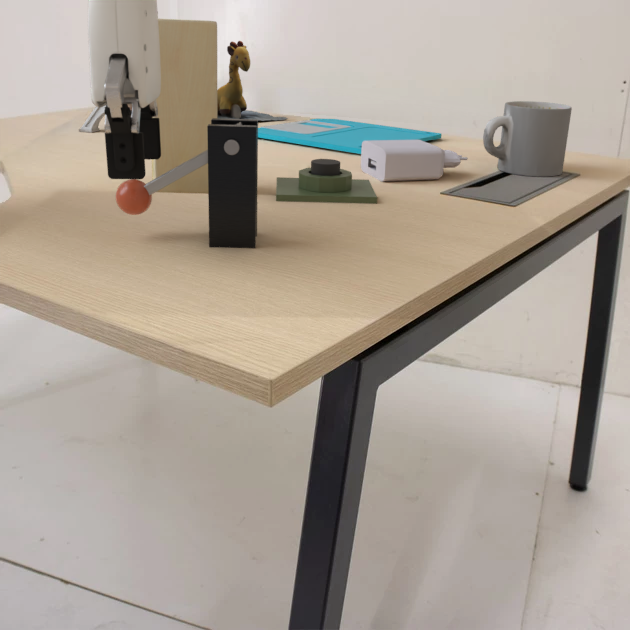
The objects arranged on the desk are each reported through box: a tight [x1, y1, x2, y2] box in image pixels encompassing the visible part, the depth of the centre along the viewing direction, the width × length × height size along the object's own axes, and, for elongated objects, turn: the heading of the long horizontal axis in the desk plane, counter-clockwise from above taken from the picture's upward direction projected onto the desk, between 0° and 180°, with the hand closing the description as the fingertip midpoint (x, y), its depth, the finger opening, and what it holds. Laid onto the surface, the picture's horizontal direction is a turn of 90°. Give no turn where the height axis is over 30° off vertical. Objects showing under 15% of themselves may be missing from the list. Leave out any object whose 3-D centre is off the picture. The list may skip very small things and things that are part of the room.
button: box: [310, 158, 341, 176], centre depth 98 cm, size 4×4×2 cm
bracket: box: [207, 118, 259, 249], centre depth 76 cm, size 12×9×13 cm
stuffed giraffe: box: [217, 40, 289, 122], centre depth 168 cm, size 16×18×16 cm
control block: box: [275, 167, 378, 205], centre depth 99 cm, size 12×10×4 cm
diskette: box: [258, 118, 442, 155], centre depth 149 cm, size 26×28×1 cm
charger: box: [360, 140, 468, 182], centre depth 118 cm, size 5×9×15 cm
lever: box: [115, 122, 242, 216], centre depth 75 cm, size 14×3×3 cm
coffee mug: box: [482, 100, 573, 178], centre depth 123 cm, size 13×10×10 cm
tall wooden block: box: [151, 18, 218, 195], centre depth 100 cm, size 8×7×21 cm
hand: (136, 167), depth 75 cm, fingers open, 9 cm apart
